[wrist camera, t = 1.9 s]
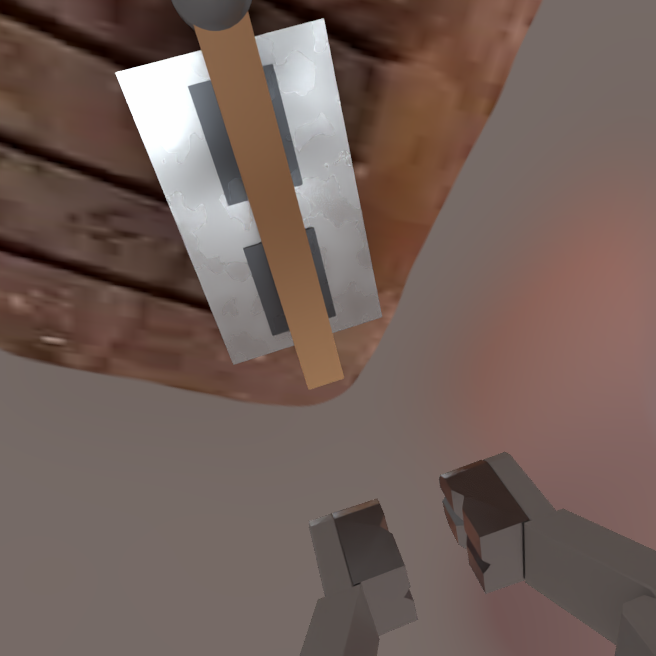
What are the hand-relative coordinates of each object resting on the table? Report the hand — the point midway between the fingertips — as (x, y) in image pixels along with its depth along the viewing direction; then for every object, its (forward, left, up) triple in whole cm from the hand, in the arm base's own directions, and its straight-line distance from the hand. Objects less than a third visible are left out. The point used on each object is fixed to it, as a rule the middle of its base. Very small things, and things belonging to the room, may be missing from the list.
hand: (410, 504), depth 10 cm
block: (-2, 0, -27) cm, 27 cm away
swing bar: (-2, 0, -20) cm, 20 cm away
